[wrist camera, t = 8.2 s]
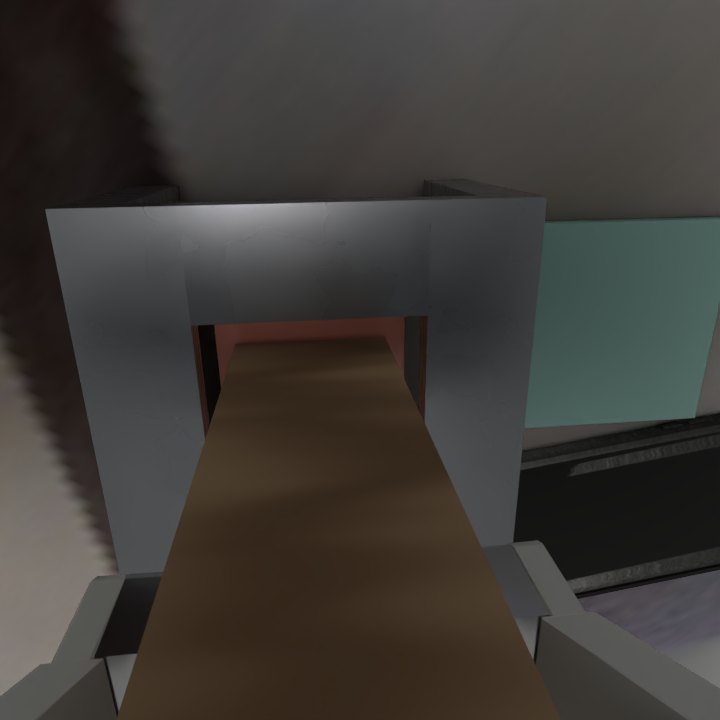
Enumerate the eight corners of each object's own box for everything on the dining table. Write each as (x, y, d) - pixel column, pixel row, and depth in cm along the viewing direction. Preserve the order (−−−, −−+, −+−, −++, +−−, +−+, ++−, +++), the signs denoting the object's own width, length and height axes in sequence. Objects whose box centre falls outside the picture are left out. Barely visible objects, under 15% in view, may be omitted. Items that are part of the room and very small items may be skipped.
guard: (464, 179, 20) (547, 197, 13) (450, 459, 23) (509, 580, 17) (134, 186, 19) (44, 209, 12) (177, 476, 22) (127, 612, 16)
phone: (770, 559, 26) (453, 625, 26) (752, 543, 27) (447, 606, 27) (791, 408, 23) (434, 478, 23) (770, 396, 24) (428, 463, 24)
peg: (385, 337, 15) (860, 1372, 2) (385, 465, 17) (685, 1557, 4) (235, 344, 15) (-165, 1605, 2) (248, 474, 16) (61, 1715, 3)
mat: (728, 216, 21) (738, 218, 20) (687, 412, 24) (694, 417, 23) (517, 222, 20) (522, 224, 20) (500, 423, 23) (504, 429, 23)
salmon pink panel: (392, 284, 18) (404, 302, 16) (391, 432, 20) (402, 466, 18) (222, 290, 17) (212, 310, 15) (238, 441, 19) (231, 477, 17)
